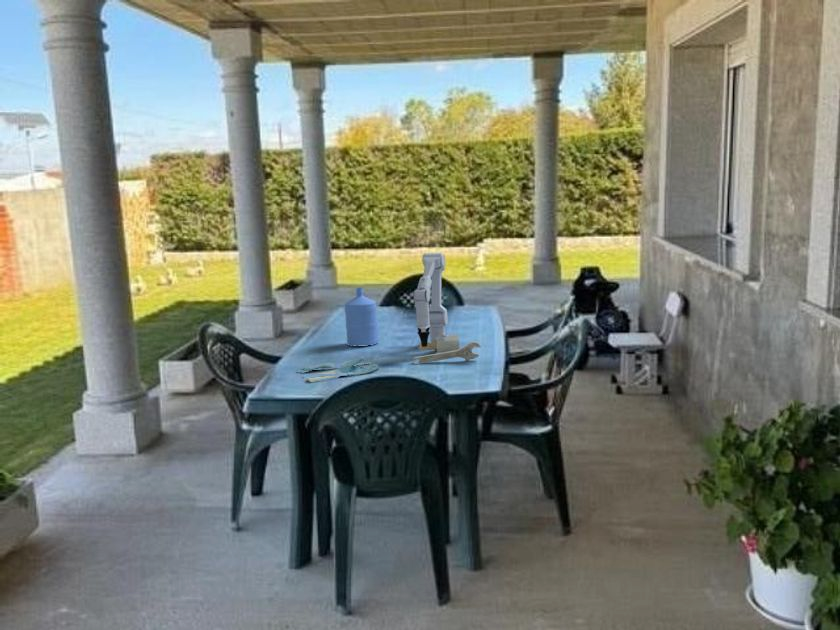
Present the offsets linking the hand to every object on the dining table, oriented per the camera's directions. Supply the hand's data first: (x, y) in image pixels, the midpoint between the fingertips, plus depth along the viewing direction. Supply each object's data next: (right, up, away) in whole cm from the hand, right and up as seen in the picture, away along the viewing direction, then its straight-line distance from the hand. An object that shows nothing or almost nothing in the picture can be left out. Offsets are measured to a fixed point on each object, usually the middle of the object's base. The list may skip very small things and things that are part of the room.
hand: (424, 344), depth 349 cm
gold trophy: (+5, -4, +1) cm, 6 cm away
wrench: (+10, -7, -17) cm, 21 cm away
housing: (+11, -4, +1) cm, 11 cm away
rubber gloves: (-37, -11, -21) cm, 44 cm away
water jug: (-30, -1, +31) cm, 43 cm away
